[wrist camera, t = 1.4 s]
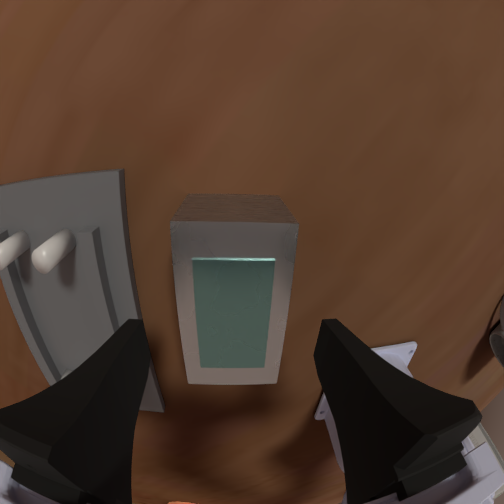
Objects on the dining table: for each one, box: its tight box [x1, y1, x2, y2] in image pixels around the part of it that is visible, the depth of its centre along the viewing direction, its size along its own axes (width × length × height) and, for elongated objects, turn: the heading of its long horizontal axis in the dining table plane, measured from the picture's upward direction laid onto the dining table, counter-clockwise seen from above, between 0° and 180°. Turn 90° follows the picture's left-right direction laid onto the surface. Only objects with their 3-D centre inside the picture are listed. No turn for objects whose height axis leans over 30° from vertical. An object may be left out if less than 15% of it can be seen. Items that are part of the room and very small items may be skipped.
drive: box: [170, 194, 299, 385], centre depth 14 cm, size 9×5×5 cm, turn 177°
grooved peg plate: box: [0, 169, 165, 412], centre depth 15 cm, size 20×12×4 cm, turn 177°
